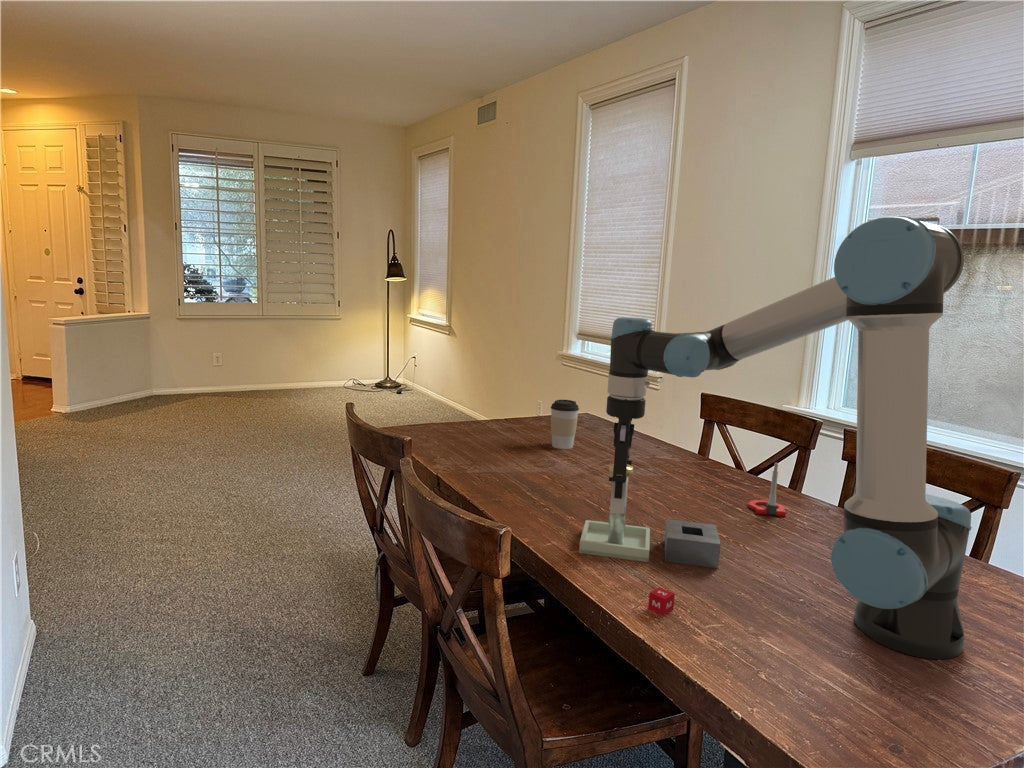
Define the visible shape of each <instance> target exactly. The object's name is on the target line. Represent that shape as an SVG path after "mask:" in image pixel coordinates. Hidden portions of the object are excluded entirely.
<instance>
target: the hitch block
mask: <svg viewBox="0 0 1024 768" xmlns="http://www.w3.org/2000/svg"><path fill="white" fill-rule="evenodd" d="M664 531H665V532H664V542H663V543H664V545H663V546H664V562H666V563H674V564H681V565H689V566H697V567H703V568H711V569H719V562H720V553H721V552H720V551H721V544H722V543H721V540H720V536H719V532H718V528H717V525H716V524H712V523H704V522H703V523H702V522H694V521H685V520H678V519H668V518H666V520H665V530H664Z"/></svg>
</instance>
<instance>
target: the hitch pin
mask: <svg viewBox="0 0 1024 768" xmlns="http://www.w3.org/2000/svg"><path fill="white" fill-rule="evenodd" d="M613 468H614V462H613V463H610V464H609V465H608V473H609V474H611V478H612V477H613ZM633 473H634V467H633V465H628V464H627V471H626V493H625V506H624V514H618V513H610V512H609V516H608V517H609V519H608V523H609V530H608V543H610V544H618V545H622V544H623V541H624V528H625V525H626V513H627V512H626V511H627V502H628V490H629V489H628V488H629V486H628V485H629V476H632V475H633ZM620 476H623V475H620ZM611 490H612V487H611ZM611 490H610V491H611ZM610 504H611V501H610Z"/></svg>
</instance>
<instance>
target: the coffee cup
mask: <svg viewBox="0 0 1024 768" xmlns="http://www.w3.org/2000/svg"><path fill="white" fill-rule="evenodd" d="M550 410H551V411H550V412H551V414H550V427H551V430H550V432H551V446H552V447H553V448H555V449H558V450H570V449H573V448H574V443H575V437H576V436H575V435H576V430H577V425H578V418H579V416H578V415H579V410H580V407H579V405H578V404H577V401H575V400H571V399H556V400H555V401H554V402H553V403H552V404H551V406H550Z"/></svg>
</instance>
